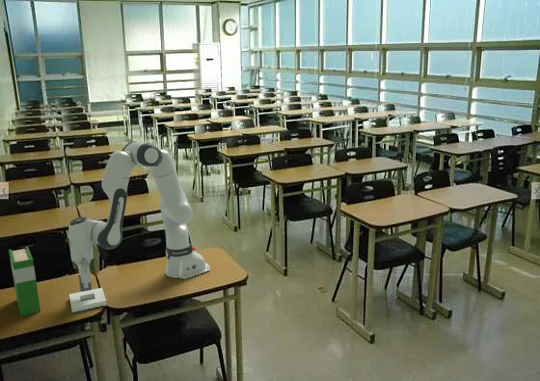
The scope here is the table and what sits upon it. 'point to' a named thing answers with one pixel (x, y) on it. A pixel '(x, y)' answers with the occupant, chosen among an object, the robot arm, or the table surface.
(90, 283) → the plug
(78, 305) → the socket plate
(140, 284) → the table surface
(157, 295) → the table surface
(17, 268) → the hardback book
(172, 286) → the table surface
